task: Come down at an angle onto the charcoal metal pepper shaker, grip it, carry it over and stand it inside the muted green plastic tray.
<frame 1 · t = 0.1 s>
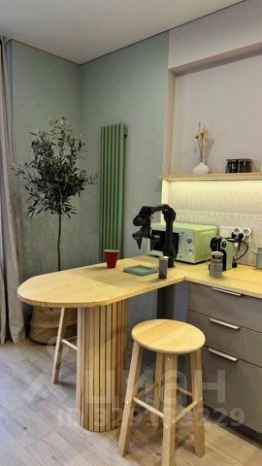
hand: (145, 250, 204), 15 cm above the table, tool pointing down, fingers open, 9 cm apart
shaker: (162, 278, 194), on the table
french press: (214, 275, 207), on the table
plastic cup: (111, 267, 217), on the table
tray: (140, 271, 208), on the table
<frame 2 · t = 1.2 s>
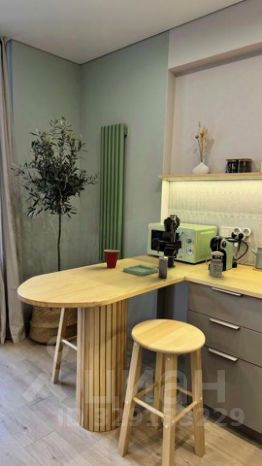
hand: (165, 254, 200), 13 cm above the table, tool tilted 45°, fingers open, 9 cm apart
nothing on the table moved.
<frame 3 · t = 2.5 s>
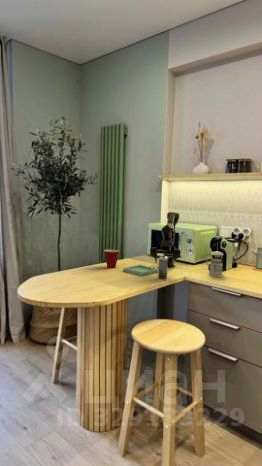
hand: (163, 263, 194), 9 cm above the table, tool tilted 45°, fingers open, 9 cm apart
nothing on the table moved.
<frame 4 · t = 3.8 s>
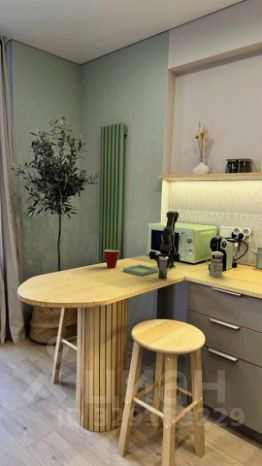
hand: (162, 267, 192), 7 cm above the table, tool tilted 45°, fingers closed on shaker, 5 cm apart
shaker: (162, 278, 194), on the table, touching gripper
everything else where it was.
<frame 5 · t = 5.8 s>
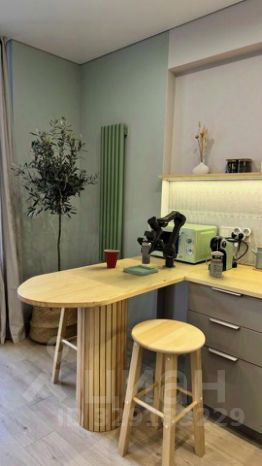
hand: (145, 253, 200), 13 cm above the table, tool tilted 45°, fingers closed on shaker, 5 cm apart
shaker: (145, 263, 202), point 7 cm above the table, touching gripper
everything else where it was.
when the fingers open (8 cm above the table, at t = 7.8 s): shaker drops 1 cm, resting on tray.
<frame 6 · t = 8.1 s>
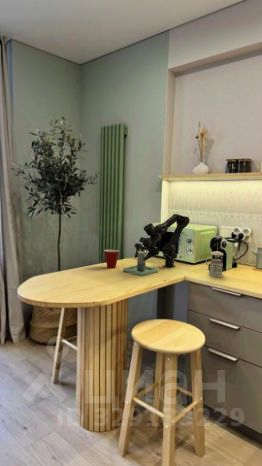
hand: (139, 258, 206), 9 cm above the table, tool tilted 45°, fingers open, 9 cm apart
shaker: (140, 270, 208), point 1 cm above the table, touching tray
everything else where it was.
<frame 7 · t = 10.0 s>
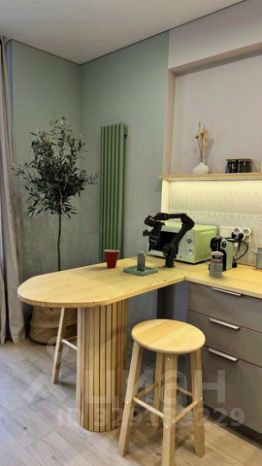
hand: (148, 251, 216), 12 cm above the table, tool tilted 20°, fingers open, 9 cm apart
nothing on the table moved.
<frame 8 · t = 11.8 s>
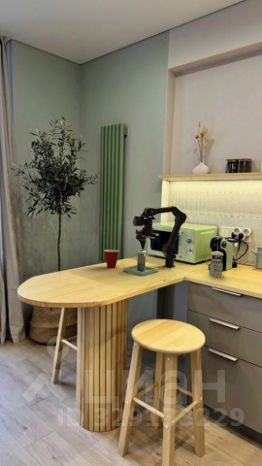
hand: (147, 248, 218), 13 cm above the table, tool pointing down, fingers open, 9 cm apart
nothing on the table moved.
at the end: shaker inside the target area on the tray (0.1 cm from its centre), point 0.6 cm above the tray's base; shaker tilted 0°; the gripper is holding nothing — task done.
